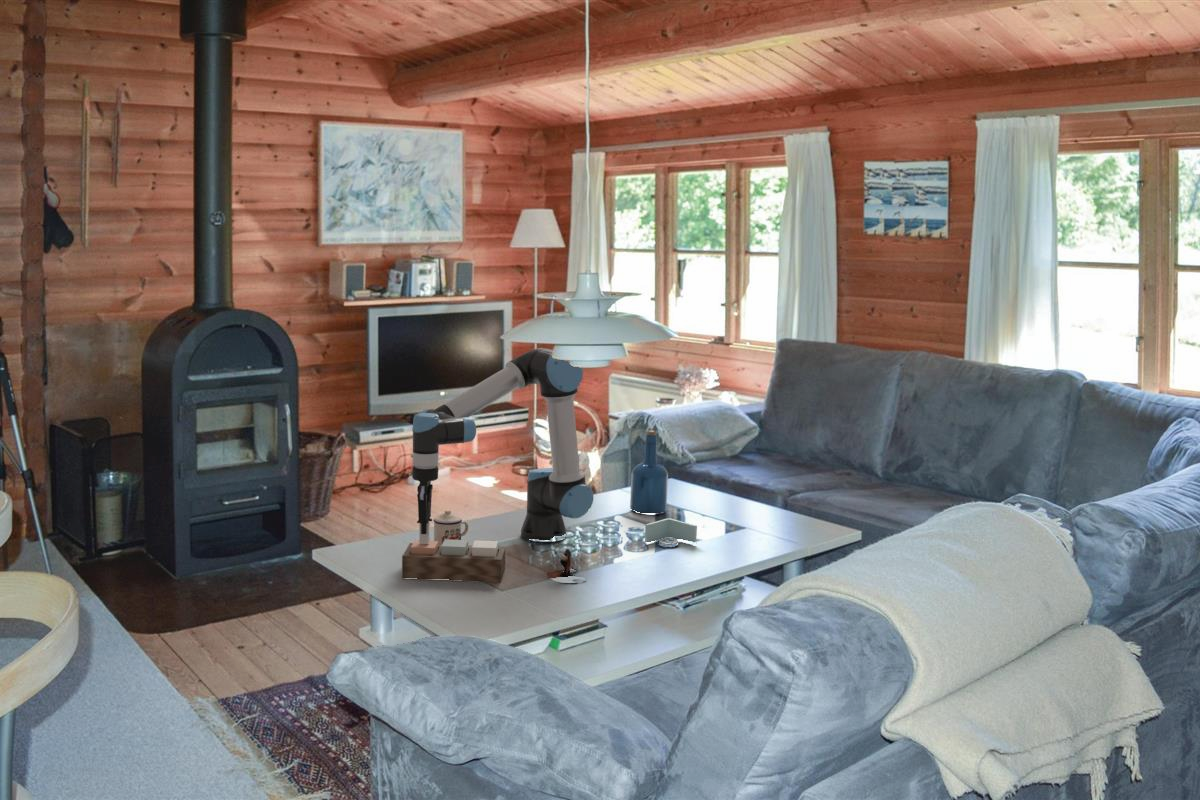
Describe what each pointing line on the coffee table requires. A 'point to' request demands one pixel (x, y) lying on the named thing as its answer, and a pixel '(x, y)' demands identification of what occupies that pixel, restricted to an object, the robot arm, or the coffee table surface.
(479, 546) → the cream key
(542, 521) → the robot arm
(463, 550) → the slate key
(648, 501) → the wine bottle
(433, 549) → the pink square block
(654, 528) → the right angle wall
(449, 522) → the teacup with lid
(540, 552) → the coffee table surface
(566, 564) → the figurine
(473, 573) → the frame
